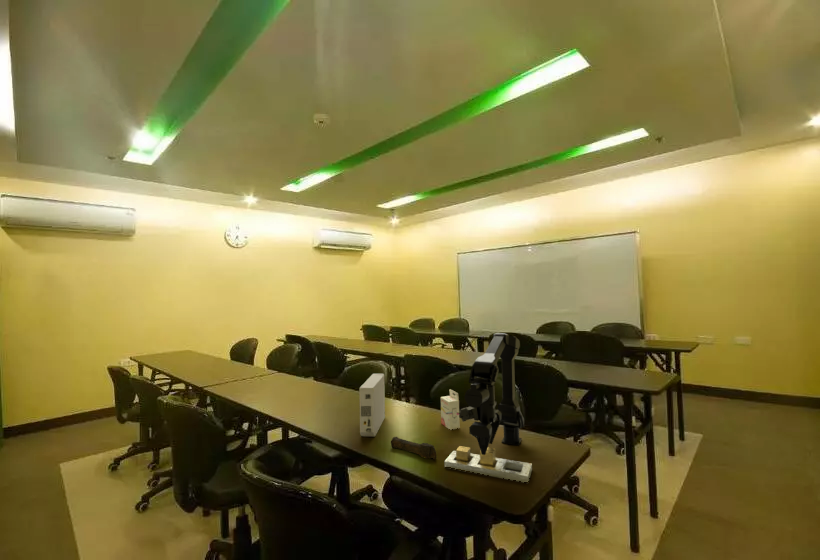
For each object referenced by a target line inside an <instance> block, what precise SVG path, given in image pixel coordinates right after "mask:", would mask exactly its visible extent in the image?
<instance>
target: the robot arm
mask: <svg viewBox="0 0 820 560" xmlns="http://www.w3.org/2000/svg"><path fill="white" fill-rule="evenodd" d="M491 339H492V340H491V341H490V343H489V344H488V346H487V349H486V350H485V352H484V354H482V355H479V356H478V357H477V358H476V359H475V360H474V362H473V363H472V365H471V368H470V369H471V370H470V374H469V377H468V383H469V384H470V385H469V386H470V387H469V388H468V389H467V390H466V392H465V394H464V401H465V403H466V405H468V407H467V406H466V407H463V408H461V409H459V419H461V422H466V421H468V420H472V419H473V420H474V422H472V423H471V424H470V426H469V427H468V428H469V429H468V430H469V435H471V436H472V437H475V438H476V441H477V443H478V446H479V449H480V450H481V454H482V455H485V454H486V451H487V448H488V447H489V444H490V445H492V444H493V443H494V440H495V437H496V434H497V432H498V429H499V427H500V425H501V426H503V427H502V428H503V438H502V440H501V443H502V444H508V445H515V446H520V444H521V442H522V441H523V440H522V437H520V429H521V428H525V418H524V416H523V414H522V411H521V406H520V404H519V402H518V400H517V399H516V381H515V380H516V379H515V378H516V377H515V373H516V372H515V359H516V357H517V356H518V354H519V349H520V348H521V341H520V339H518V338H517V336H513V335H509V334H508V333H504V332H503V333H502V332H495V333H493V335H492V338H491ZM499 359H501V377H502V378H501V386H502V387H501V390H502V393H501V394H502V395H501V397H502V399H501V401H500V403H498V404H497V401H496V400H495V399H496V397H495V383H497V379H498V376H499V367H498V362H499ZM496 406H497V409H496ZM480 450H479V451H480Z"/></svg>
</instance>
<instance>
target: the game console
mask: <svg viewBox="0 0 820 560" xmlns="http://www.w3.org/2000/svg"><path fill="white" fill-rule="evenodd" d="M358 393H359V433H360V434H359V435H360V436H361V437H376V436H377V433H378V432H379V429H380V428H381V426H382V424H383V422H384V420H385V418H386V403H385V402H386V399H385V398H386V397H385V393H386V392H385V374H384V373H372V374H371V375H370V376H369V377H368V378H367V379H366V381H365V382H364V383H363V384H362V385H361V386H360V387H359V391H358Z"/></svg>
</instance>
